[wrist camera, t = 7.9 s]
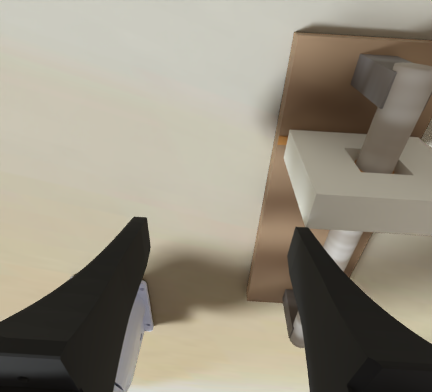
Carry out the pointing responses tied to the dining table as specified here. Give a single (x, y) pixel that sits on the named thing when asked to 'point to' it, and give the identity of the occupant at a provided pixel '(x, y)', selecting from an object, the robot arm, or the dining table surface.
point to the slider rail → (342, 123)
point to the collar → (359, 185)
